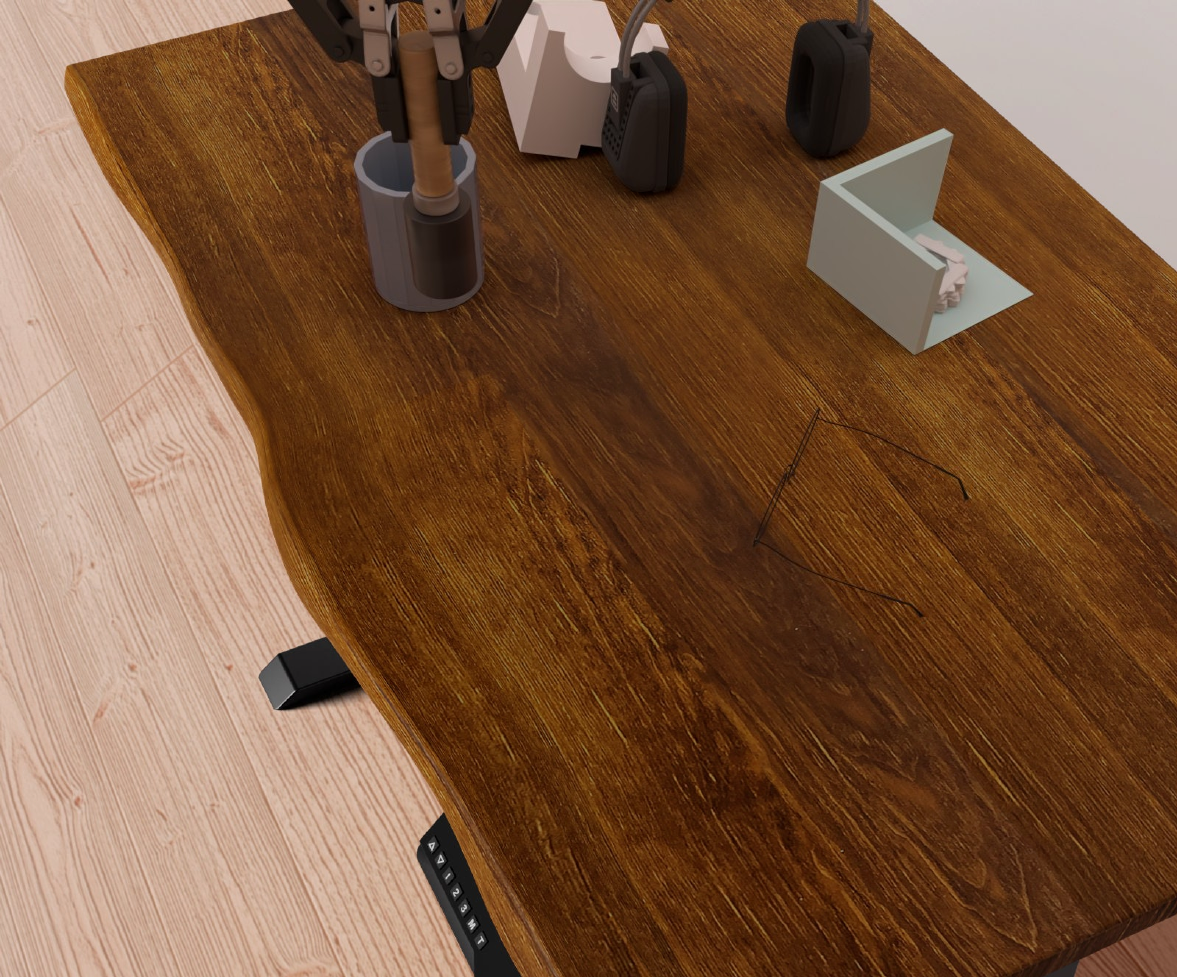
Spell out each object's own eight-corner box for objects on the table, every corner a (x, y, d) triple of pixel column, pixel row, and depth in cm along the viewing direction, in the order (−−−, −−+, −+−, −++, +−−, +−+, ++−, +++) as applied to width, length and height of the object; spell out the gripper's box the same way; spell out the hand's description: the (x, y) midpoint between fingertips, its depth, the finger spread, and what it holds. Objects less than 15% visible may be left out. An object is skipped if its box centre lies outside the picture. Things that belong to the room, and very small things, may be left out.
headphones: (838, 112, 109) (879, -133, 94) (871, 153, 106) (920, -95, 90) (595, 161, 105) (596, -87, 89) (621, 205, 101) (626, -46, 86)
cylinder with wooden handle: (408, 298, 70) (373, 59, 59) (419, 256, 72) (387, 19, 61) (473, 301, 70) (449, 62, 59) (482, 260, 72) (461, 22, 61)
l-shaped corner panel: (914, 355, 91) (936, 270, 85) (806, 266, 97) (820, 181, 91) (1033, 294, 95) (1063, 209, 89) (923, 212, 101) (943, 128, 95)
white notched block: (632, 165, 107) (668, 48, 99) (520, 151, 104) (548, 29, 96) (591, 53, 118) (621, -60, 110) (488, 38, 115) (512, -80, 107)
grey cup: (364, 309, 94) (344, 194, 86) (384, 239, 99) (365, 123, 91) (477, 314, 93) (467, 199, 86) (490, 243, 99) (482, 128, 91)
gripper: (565, -287, 52) (572, 100, 66) (235, -296, 53) (310, 88, 66) (546, -213, 47) (557, 186, 61) (184, -224, 48) (276, 173, 62)
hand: (428, 134), depth 64 cm, fingers closed on cylinder with wooden handle, 2 cm apart
